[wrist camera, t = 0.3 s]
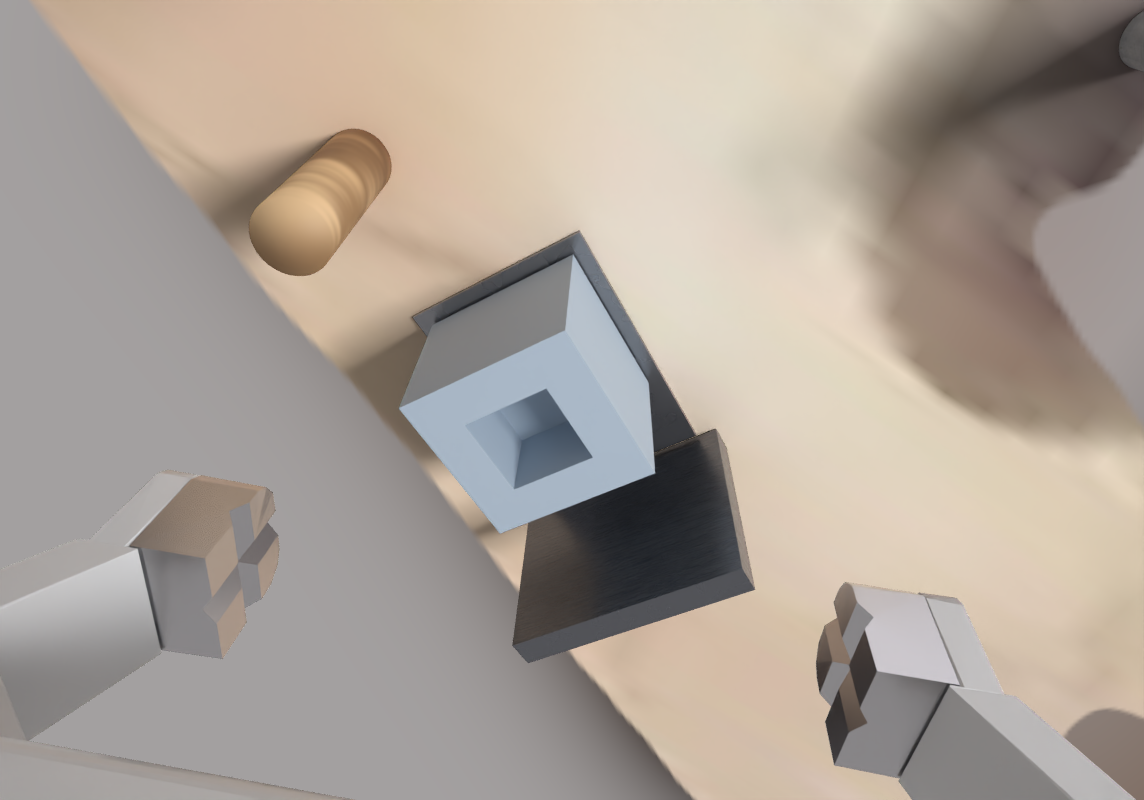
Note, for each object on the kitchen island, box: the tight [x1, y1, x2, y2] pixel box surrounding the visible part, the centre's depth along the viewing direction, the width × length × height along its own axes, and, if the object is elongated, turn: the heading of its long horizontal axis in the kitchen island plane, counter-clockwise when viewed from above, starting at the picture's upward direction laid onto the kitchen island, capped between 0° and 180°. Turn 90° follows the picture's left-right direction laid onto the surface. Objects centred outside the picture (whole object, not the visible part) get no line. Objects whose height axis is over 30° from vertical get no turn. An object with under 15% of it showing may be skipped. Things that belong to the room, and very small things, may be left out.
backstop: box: [413, 231, 755, 663], centre depth 50 cm, size 20×16×14 cm
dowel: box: [249, 129, 391, 276], centre depth 42 cm, size 4×4×12 cm
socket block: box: [399, 255, 655, 533], centre depth 49 cm, size 11×11×10 cm
